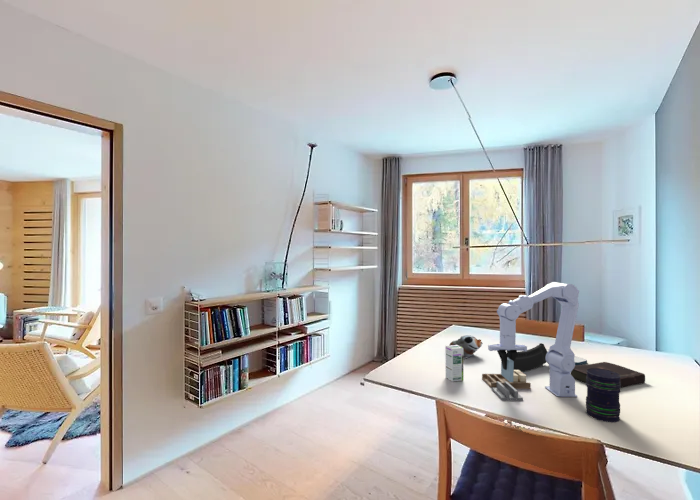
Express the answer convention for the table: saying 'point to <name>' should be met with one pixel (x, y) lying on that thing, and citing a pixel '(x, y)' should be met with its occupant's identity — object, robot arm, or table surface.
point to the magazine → (531, 358)
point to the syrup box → (454, 362)
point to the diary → (626, 375)
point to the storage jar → (603, 395)
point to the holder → (506, 392)
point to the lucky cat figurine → (468, 344)
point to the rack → (493, 378)
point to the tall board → (508, 370)
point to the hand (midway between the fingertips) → (507, 368)
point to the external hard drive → (577, 360)
